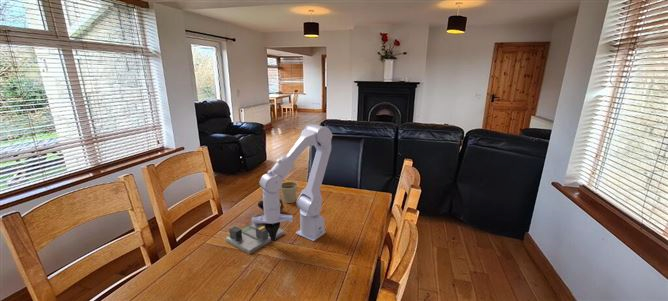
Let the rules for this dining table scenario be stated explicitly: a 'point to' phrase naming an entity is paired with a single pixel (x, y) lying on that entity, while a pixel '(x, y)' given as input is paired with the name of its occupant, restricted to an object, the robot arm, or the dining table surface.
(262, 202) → the pottery mug
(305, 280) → the dining table surface
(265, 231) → the breaker
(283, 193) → the flower pot
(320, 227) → the robot arm
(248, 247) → the panel
